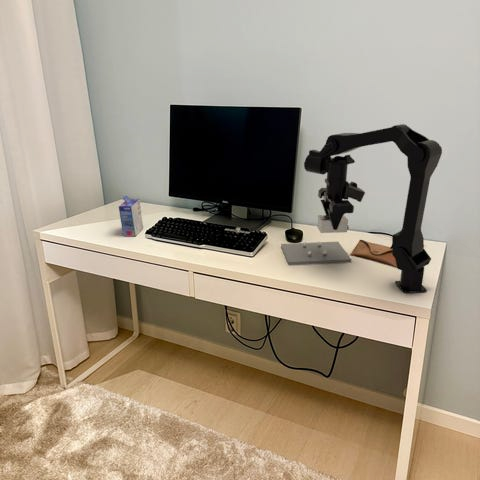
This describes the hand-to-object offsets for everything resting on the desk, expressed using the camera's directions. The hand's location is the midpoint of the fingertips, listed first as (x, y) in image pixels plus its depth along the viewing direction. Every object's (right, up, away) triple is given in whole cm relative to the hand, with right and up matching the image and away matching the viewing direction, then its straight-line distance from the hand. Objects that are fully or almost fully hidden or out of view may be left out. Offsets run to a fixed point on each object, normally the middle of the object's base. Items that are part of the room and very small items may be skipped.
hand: (332, 226), depth 135 cm
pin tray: (-4, -9, +10) cm, 14 cm away
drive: (0, -1, 0) cm, 1 cm away
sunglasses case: (+16, -10, +6) cm, 20 cm away
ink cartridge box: (-71, -1, +36) cm, 79 cm away
